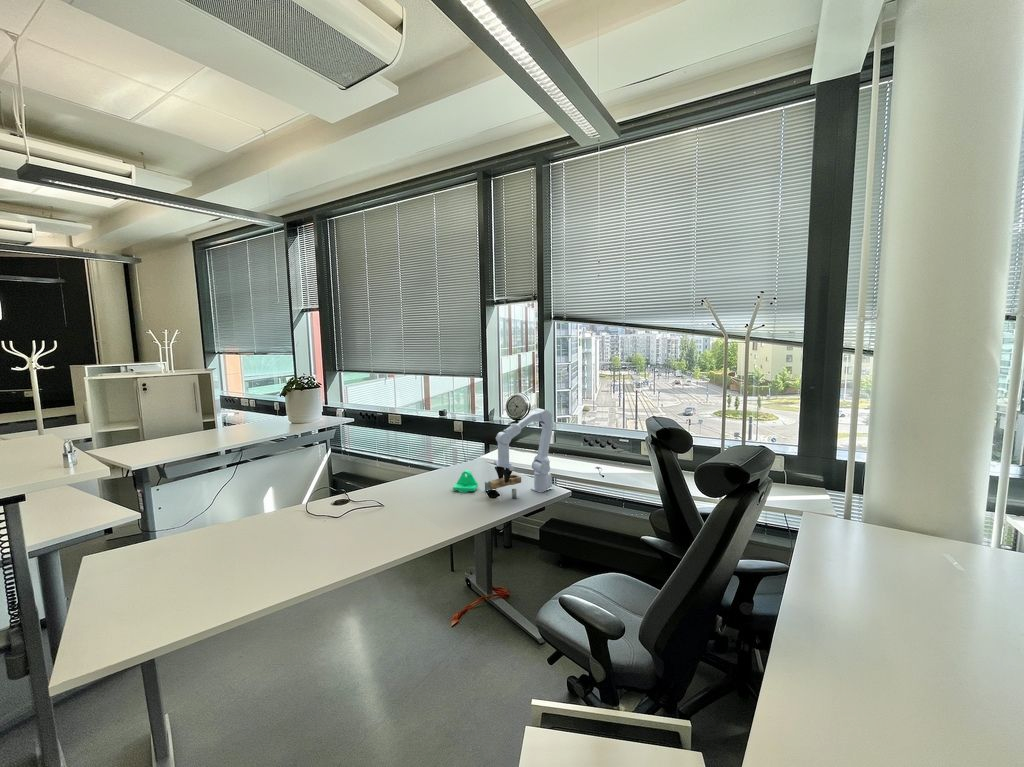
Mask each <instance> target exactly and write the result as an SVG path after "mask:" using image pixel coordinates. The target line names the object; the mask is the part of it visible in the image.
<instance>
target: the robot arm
mask: <svg viewBox="0 0 1024 767" xmlns="http://www.w3.org/2000/svg"><path fill="white" fill-rule="evenodd" d="M533 422H539V424H540V425H541V426H542V427H541V433H540V439H539V445H538V448H537V449H538V450H537V454H536V455H535V457H534V458H533V462H532V464H531V469H532V470H533V475H534V476H533V481H534V482H533V484H534V485H533V487H531V488H530V489H531V490H532V491H535V492H537V493H544V491H545V492H547V491H546V490H547V489H548V488H550V487H552V488H553V477H552V474H551V472H550V471H551V466H550V463H551V461H550V459H549V457H548V456H549V450H550V445H551V437H552V434H553V427H554V423H553V414H552V413H551V411H549V410H547V409H543V408H539V407H536V408H534V409H532V410H531V411H530V412H529V414H527V415H526V416H525V417H524V418H522V419H521V420H520V421H519V422H518V423H510V426H508V427H507V428H506V429H505V428H504V429H503V431H500V432H498V433H497V434H496V435H495V436H496V437H495V441H496V442H497V460H494V461H493V465H494V469H495V471H496V475H497V476H498V477H497V479H500V478H503V477H504V481H505V483H507V482H509V479H510V475H512V474H513V472H514V470H515V466H514V465H512V464H511V463H510V443H511V441H512V440H513V439H514V438H515V437H516V436H518V435H519V434H520V433H522V429H523V428H525V427H526V426H528V425H530V424H531V423H533Z"/></svg>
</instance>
